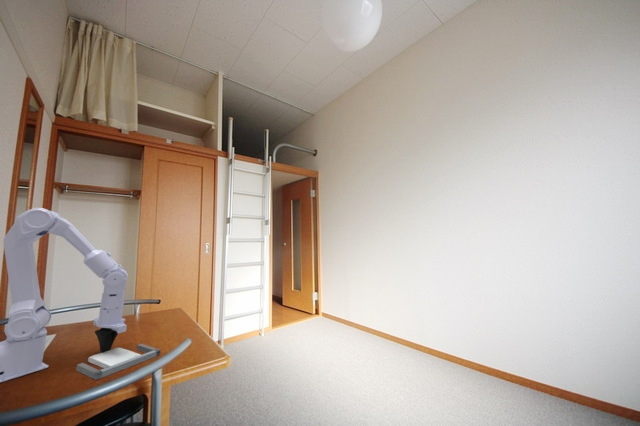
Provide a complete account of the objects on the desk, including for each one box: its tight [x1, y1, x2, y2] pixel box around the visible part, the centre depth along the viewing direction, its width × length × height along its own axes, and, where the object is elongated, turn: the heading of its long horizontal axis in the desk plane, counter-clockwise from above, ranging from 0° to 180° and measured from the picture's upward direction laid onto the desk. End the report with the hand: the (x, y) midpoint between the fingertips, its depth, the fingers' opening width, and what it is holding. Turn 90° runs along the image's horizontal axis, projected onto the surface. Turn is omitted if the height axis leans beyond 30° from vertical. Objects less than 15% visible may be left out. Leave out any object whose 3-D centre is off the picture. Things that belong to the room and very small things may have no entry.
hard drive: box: [87, 346, 142, 369], centre depth 73 cm, size 2×8×12 cm
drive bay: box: [76, 343, 161, 381], centre depth 72 cm, size 16×10×2 cm, turn 155°
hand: (105, 352), depth 76 cm, fingers closed, pressing on hard drive
